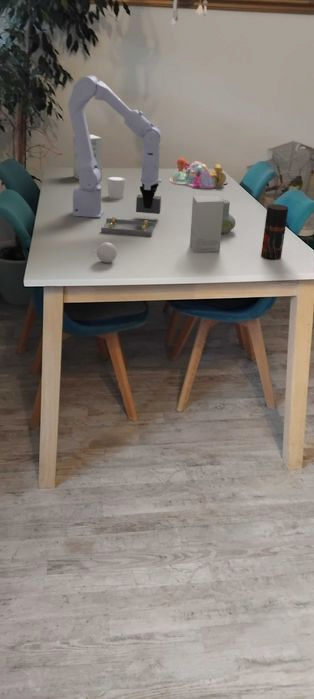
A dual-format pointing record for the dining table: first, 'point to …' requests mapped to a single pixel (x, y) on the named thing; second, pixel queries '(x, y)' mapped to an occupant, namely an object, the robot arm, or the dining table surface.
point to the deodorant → (274, 231)
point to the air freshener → (227, 218)
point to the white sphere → (106, 252)
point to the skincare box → (206, 223)
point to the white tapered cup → (116, 187)
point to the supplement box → (97, 153)
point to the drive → (154, 207)
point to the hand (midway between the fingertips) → (148, 206)
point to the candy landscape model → (198, 175)
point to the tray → (128, 227)
